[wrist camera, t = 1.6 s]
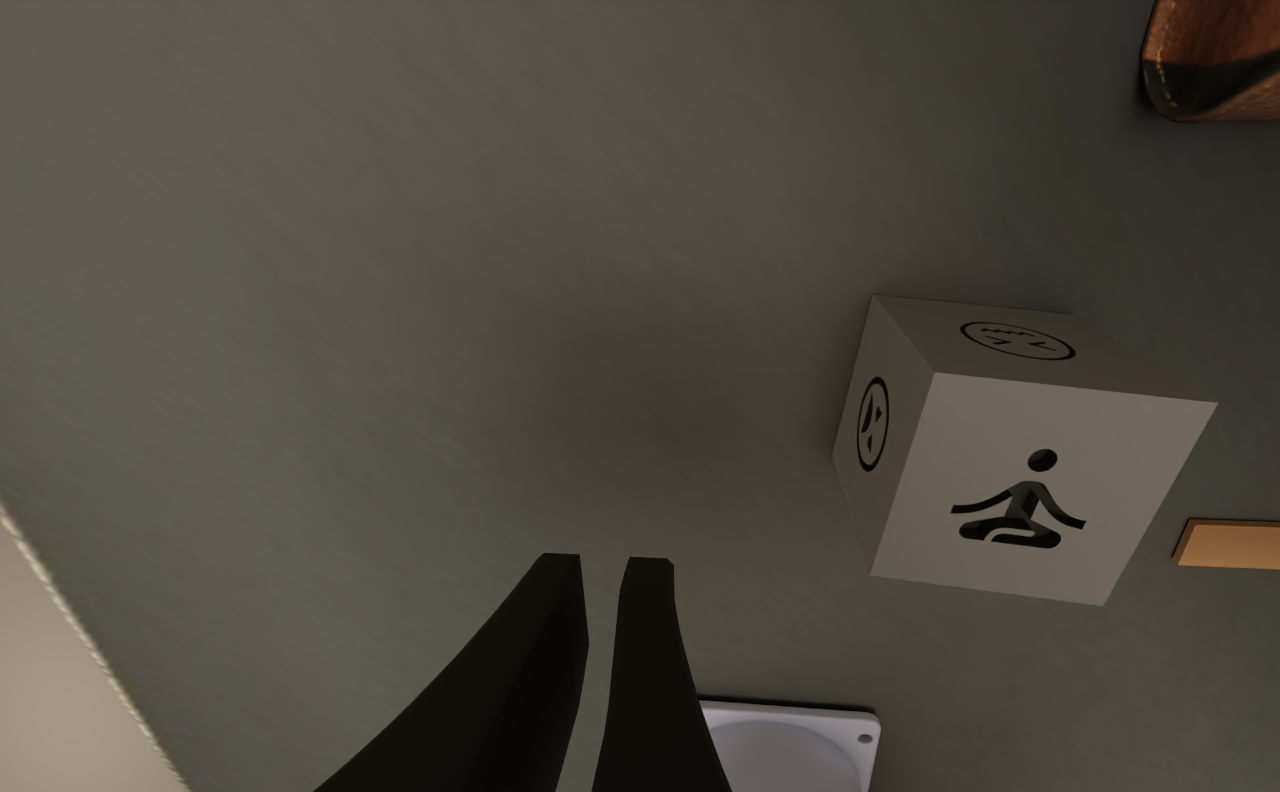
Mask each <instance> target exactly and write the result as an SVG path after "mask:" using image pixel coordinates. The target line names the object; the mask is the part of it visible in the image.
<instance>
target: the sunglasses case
mask: <svg viewBox="0 0 1280 792" xmlns="http://www.w3.org/2000/svg"><path fill="white" fill-rule="evenodd" d="M1141 55H1142V63H1143V76H1144V86H1145V89H1146V91H1147V93H1148V95H1149V98H1150V100H1151V102H1152V105H1153V106H1154V107H1155V108H1156V109H1157V110H1158V112H1159V114H1160V115H1161V116H1162V117H1165V118H1167V119H1169V120H1171V121H1173V122H1176V123H1191V124H1192V123H1204V122H1214V121H1257V120H1280V0H1156V3H1155V6H1154V10H1153V13H1152V17H1151V21H1150V24H1149V28H1148V32H1147V35H1146V39H1145V41H1144V44H1143V47H1142V53H1141Z"/></svg>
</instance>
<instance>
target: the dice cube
mask: <svg viewBox="0 0 1280 792" xmlns="http://www.w3.org/2000/svg"><path fill="white" fill-rule="evenodd" d="M1217 404H1218V403H1217V402H1216V401H1214V400H1212V399H1211V398H1209V397H1207V396H1206V395H1204V394H1203V393H1201V392H1199V391H1198V390H1196V389H1194V388H1193V387H1191V386H1189V385H1188V384H1186V383H1184V382H1183V381H1181V380H1180V379H1178V378H1176V377H1175V376H1173V375H1171V374H1170V373H1168V372H1166V371H1165V370H1163V369H1161V368H1160V367H1158V366H1157V365H1155V364H1153V363H1152V362H1150V361H1148V360H1147V359H1145V358H1143V357H1142V356H1140V355H1139V354H1137V353H1135V352H1134V351H1132V350H1130V349H1129V348H1127V347H1125V346H1124V345H1122V344H1120V343H1119V342H1117V341H1116V340H1114V339H1112V338H1111V337H1109V336H1107V335H1106V334H1104V333H1102V332H1101V331H1099V330H1098V329H1096V328H1094V327H1093V326H1091V325H1089V324H1088V323H1086V322H1084V321H1083V320H1081V319H1079V318H1078V317H1076V316H1075V315H1073V314H1064V313H1055V312H1045V311H1035V310H1025V309H1015V308H1005V307H995V306H985V305H975V304H965V303H955V302H945V301H936V300H926V299H916V298H906V297H896V296H886V295H876V294H873V295H872V299H871V303H870V307H869V311H868V315H867V318H866V322H865V326H864V330H863V334H862V338H861V342H860V346H859V350H858V354H857V358H856V362H855V366H854V370H853V374H852V378H851V382H850V386H849V389H848V393H847V397H846V401H845V405H844V409H843V413H842V417H841V421H840V425H839V429H838V433H837V437H836V441H835V445H834V449H833V453H832V456H831V457H832V460H833V463H834V466H835V469H836V472H837V476H838V479H839V482H840V485H841V488H842V491H843V494H844V497H845V500H846V503H847V507H848V510H849V513H850V516H851V519H852V522H853V525H854V528H855V531H856V534H857V538H858V541H859V544H860V547H861V550H862V553H863V556H864V559H865V562H866V565H867V569H868V572H869V575H870V576H878V577H885V578H893V579H900V580H908V581H916V582H923V583H931V584H938V585H946V586H954V587H961V588H969V589H976V590H984V591H992V592H999V593H1007V594H1014V595H1022V596H1030V597H1037V598H1045V599H1052V600H1060V601H1068V602H1075V603H1083V604H1090V605H1098V606H1103V605H1104V604H1105V602H1106V600H1107V598H1108V597H1109V595H1110V593H1111V591H1112V589H1113V588H1114V586H1115V584H1116V582H1117V581H1118V579H1119V577H1120V575H1121V574H1122V572H1123V570H1124V568H1125V567H1126V565H1127V563H1128V561H1129V560H1130V558H1131V556H1132V554H1133V552H1134V551H1135V549H1136V547H1137V545H1138V544H1139V542H1140V540H1141V538H1142V537H1143V535H1144V533H1145V531H1146V530H1147V528H1148V526H1149V524H1150V523H1151V521H1152V519H1153V517H1154V515H1155V514H1156V512H1157V510H1158V508H1159V507H1160V505H1161V503H1162V501H1163V500H1164V498H1165V496H1166V494H1167V493H1168V491H1169V489H1170V487H1171V486H1172V484H1173V482H1174V480H1175V478H1176V477H1177V475H1178V473H1179V471H1180V470H1181V468H1182V466H1183V464H1184V463H1185V461H1186V459H1187V457H1188V456H1189V454H1190V452H1191V450H1192V449H1193V447H1194V445H1195V443H1196V441H1197V440H1198V438H1199V436H1200V434H1201V433H1202V431H1203V429H1204V427H1205V426H1206V424H1207V422H1208V420H1209V419H1210V417H1211V415H1212V413H1213V412H1214V410H1215V408H1216V406H1217Z"/></svg>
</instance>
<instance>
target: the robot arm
mask: <svg viewBox="0 0 1280 792" xmlns="http://www.w3.org/2000/svg"><path fill="white" fill-rule="evenodd" d="M588 648H589V637H588V628H587V619H586V609H585V600H584V590H583V581H582V571H581V562H580V555H578V554H556V553H543V554H542V555H541V556H540V557H539V558H538V559H537V560H536V561H535V563H534V564H533V565H532V566H531V568H530V569H529V570H528V572H527V573H526V574H525V575H524V577H523V578H522V579H521V580H520V582H519V583H518V584H517V585H516V587H515V588H514V589H513V590H512V592H511V593H510V594H509V595H508V597H507V598H506V599H505V600H504V601H503V603H502V604H501V605H500V606H499V607H498V609H497V610H496V611H495V612H494V613H493V615H492V616H491V617H490V618H489V619H488V620H487V622H486V623H485V624H484V625H483V626H482V627H481V628H480V630H479V631H478V632H477V633H476V634H475V635H474V636H473V638H472V639H471V640H470V641H469V642H468V643H467V644H466V645H465V647H464V648H463V649H462V650H461V651H460V652H459V653H458V654H457V656H456V657H455V658H454V659H453V660H452V661H451V662H450V663H449V664H448V665H447V666H446V667H445V668H444V669H443V670H442V671H441V673H440V674H439V675H438V676H437V677H436V678H435V679H434V680H433V681H432V682H431V683H430V684H429V685H428V686H427V687H426V688H425V689H424V690H423V691H422V692H421V693H420V694H419V695H418V696H417V697H416V699H415V700H414V701H413V702H412V703H411V704H410V705H409V706H408V707H407V708H406V709H404V710H403V711H402V712H401V713H400V714H399V715H398V716H397V717H396V718H395V719H394V720H393V721H392V722H391V723H390V724H389V725H388V726H387V727H386V728H385V729H384V730H383V731H382V732H380V733H379V734H378V735H377V736H376V737H375V738H374V739H373V740H372V741H371V742H370V743H368V744H367V745H366V746H365V747H364V748H363V749H362V750H361V751H360V752H359V753H357V754H356V755H355V756H354V757H353V758H352V759H351V760H350V761H349V762H347V763H346V764H345V765H344V766H343V767H342V768H340V769H339V770H338V771H337V772H336V773H335V774H333V775H332V776H331V777H330V778H329V779H327V780H326V781H325V782H324V783H323V784H321V785H320V786H319V787H318V788H317V789H316V790H314V791H313V792H555V791H556V788H557V784H558V780H559V777H560V773H561V770H562V766H563V763H564V759H565V755H566V752H567V748H568V744H569V741H570V737H571V733H572V730H573V726H574V723H575V719H576V715H577V711H578V708H579V703H580V697H581V691H582V685H583V680H584V674H585V667H586V661H587V655H588ZM880 732H881V727H880V723H879V719H878V718H877V717H876V716H875V715H873V714H872V713H868V712H856V711H843V710H829V709H815V708H801V707H787V706H773V705H759V704H746V703H732V702H718V701H704V700H699V699H698V696H697V692H696V689H695V686H694V683H693V679H692V676H691V672H690V668H689V664H688V660H687V657H686V653H685V649H684V645H683V642H682V637H681V633H680V628H679V623H678V617H677V612H676V606H675V598H674V564H673V563H671V562H670V561H669V560H668V559H666V558H644V557H630V558H629V561H628V564H627V567H626V570H625V573H624V577H623V580H622V584H621V588H620V594H619V604H618V614H617V624H616V634H615V644H614V655H613V665H612V675H611V686H610V696H609V705H608V712H607V719H606V725H605V732H604V737H603V742H602V746H601V751H600V755H599V760H598V764H597V769H596V773H595V778H594V782H593V787H592V791H591V792H868V789H869V785H870V780H871V775H872V770H873V765H874V760H875V756H876V751H877V746H878V741H879V736H880Z"/></svg>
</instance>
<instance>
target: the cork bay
mask: <svg viewBox="0 0 1280 792" xmlns="http://www.w3.org/2000/svg"><path fill="white" fill-rule="evenodd" d="M1172 559H1173V560H1174V561H1175V562H1176V563H1177V564H1178V565H1189V566H1213V567H1236V568H1260V569H1280V522H1263V521H1234V520H1204V519H1190V520H1189V522H1188V524H1187V526H1186V528H1185V531H1184V533H1183V535H1182V537H1181V540H1180V542H1179V544H1178V546H1177V549H1176V551H1175V553H1174V555H1173V558H1172Z"/></svg>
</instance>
